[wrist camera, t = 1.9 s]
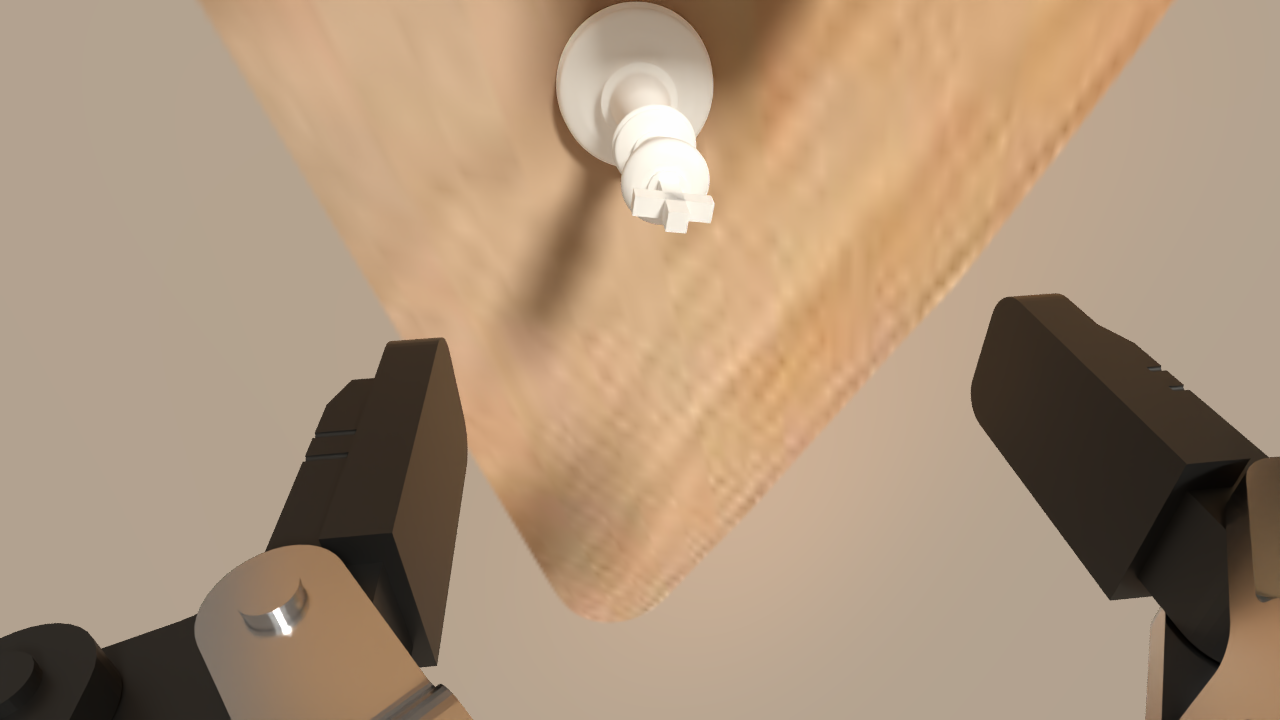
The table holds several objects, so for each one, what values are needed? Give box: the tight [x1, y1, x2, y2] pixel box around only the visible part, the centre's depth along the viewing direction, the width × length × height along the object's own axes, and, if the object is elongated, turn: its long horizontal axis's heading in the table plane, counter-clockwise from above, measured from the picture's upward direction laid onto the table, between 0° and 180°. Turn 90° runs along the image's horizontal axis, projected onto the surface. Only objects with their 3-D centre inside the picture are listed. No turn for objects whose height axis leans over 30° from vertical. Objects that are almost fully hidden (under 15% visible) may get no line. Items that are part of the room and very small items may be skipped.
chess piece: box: [556, 2, 715, 233], centre depth 19 cm, size 5×5×10 cm
